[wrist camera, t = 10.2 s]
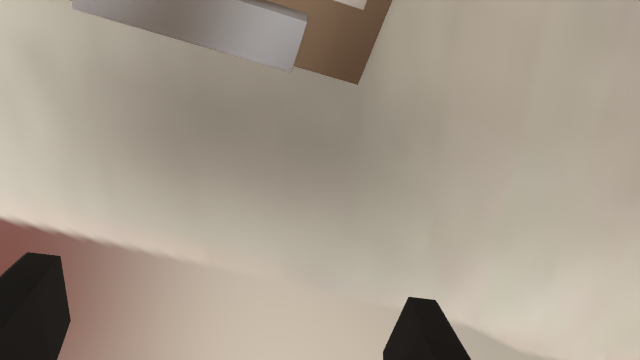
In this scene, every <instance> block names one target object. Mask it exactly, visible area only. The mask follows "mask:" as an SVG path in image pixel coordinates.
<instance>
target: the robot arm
mask: <svg viewBox="0 0 640 360" xmlns="http://www.w3.org/2000/svg"><path fill="white" fill-rule="evenodd" d="M70 321H71V320H70V314H69V308H68V301H67V295H66V289H65V282H64V276H63V270H62V263H61V257H60V256H55V255H46V254H37V253H29V252H28V253H26V254H25V255H23V256H22V257H21V258H20V259H19V260H18V261H16V262H15V263H14V264H13V265H12V266H11V267H10V268H9V269H8V270H6V271H5V272H4V273H3V274H2V275H1V276H0V360H57V358H58V355H59V353H60V350H61V347H62V344H63V341H64V338H65V335H66V332H67V329H68V326H69V324H70ZM383 360H471V359H470V357H469V355H468V354H467V352H466V350H465V349H464V347H463V345H462V344H461V342H460V340H459V339H458V337H457V335H456V334H455V332H454V330H453V329H452V327H451V325H450V323H449V322H448V320H447V318H446V317H445V315H444V313H443V311H442V310H441V308H440V306H439V305H438V303H437V302H436V300H430V299H422V298H413V297H408V299H407V302H406V304H405V306H404V308H403V310H402V312H401V314H400V317H399V319H398V321H397V323H396V325H395V327H394V329H393V332H392V334H391V336H390V338H389V340H388V342H387V344H386V347H385V349H384V351H383Z"/></svg>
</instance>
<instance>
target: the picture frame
mask: <svg viewBox="0 0 640 360" xmlns="http://www.w3.org/2000/svg"><path fill="white" fill-rule="evenodd" d="M72 1H73V5H72V9H75V10H79V11H82V12H86V13H89V14H93V15H96V16H99V17H103V18H106V19H110V20H113V21H117V22H120V23H123V24H127V25H130V26H134V27H137V28H141V29H144V30H147V31H151V32H154V33H158V34H161V35H165V36H168V37H171V38H175V39H178V40H182V41H185V42H189V43H192V44H195V45H199V46H202V47H206V48H209V49H213V50H216V51H219V52H223V53H226V54H230V55H233V56H237V57H240V58H243V59H247V60H250V61H254V62H257V63H261V64H264V65H268V66H271V67H274V68H278V69H281V70H285V71H288V72H292V68H293V66H296V67H299V68H303V69H306V70H310V71H313V72H316V73H320V74H323V75H327V76H330V77H333V78H337V79H340V80H344V81H347V82H350V83H354V84H357V85H358V83H359V80H360V78H361V75H362V73H363V71H364V68H365V66H366V63H367V61H368V58H369V56H370V53H371V51H372V48H373V46H374V44H375V41H376V39H377V36H378V34H379V31H380V29H381V26H382V24H383V22H384V19H385V17H386V14H387V12H388V9H389V7H390V4H391V2H392V0H72Z"/></svg>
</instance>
